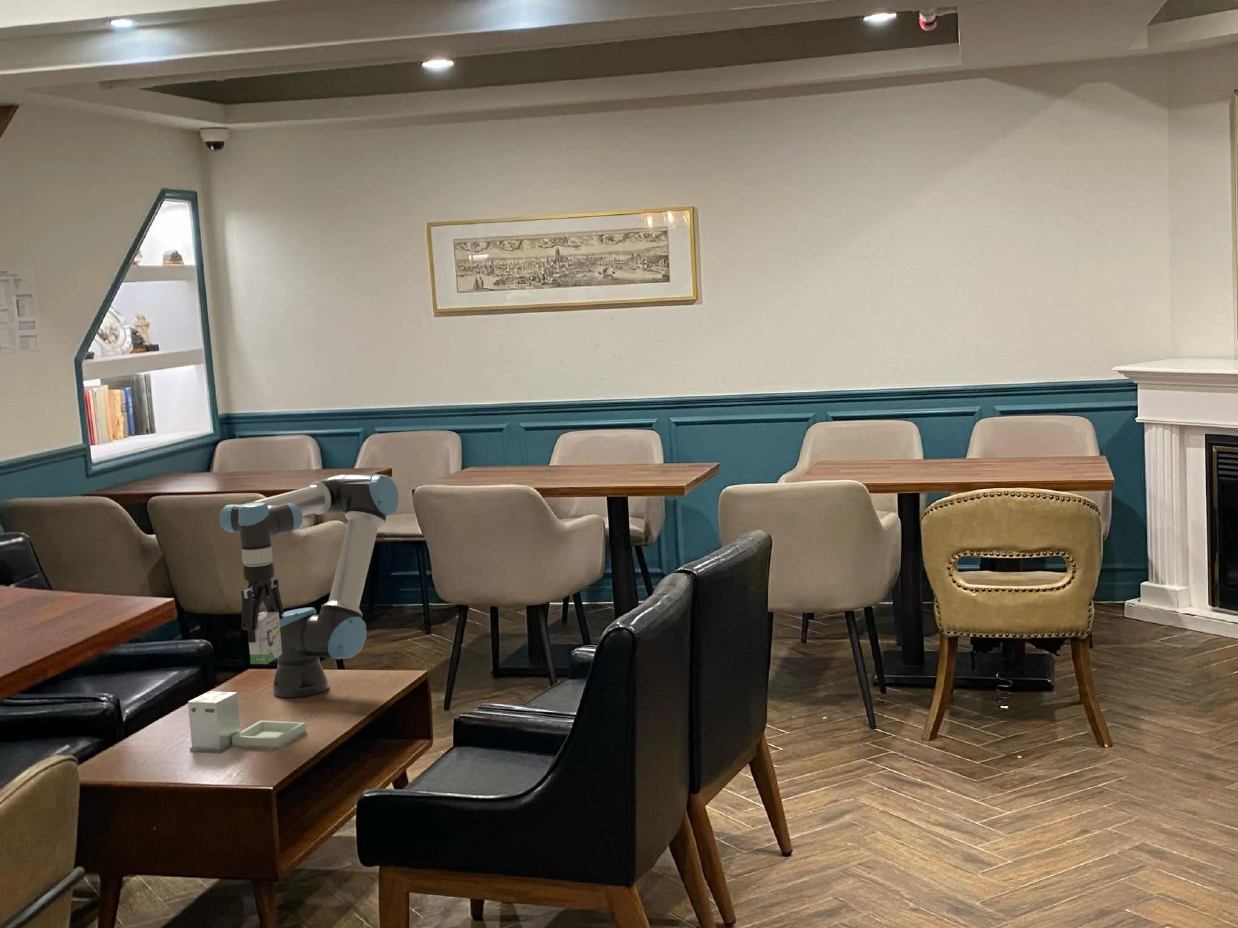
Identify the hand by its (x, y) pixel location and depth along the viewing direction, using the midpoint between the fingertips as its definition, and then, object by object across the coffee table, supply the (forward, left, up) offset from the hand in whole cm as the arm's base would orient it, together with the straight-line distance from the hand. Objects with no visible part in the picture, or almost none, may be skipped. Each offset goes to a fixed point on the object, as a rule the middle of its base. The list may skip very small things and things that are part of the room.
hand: (265, 648), depth 340 cm
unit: (+18, -5, -20) cm, 27 cm away
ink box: (0, 0, -3) cm, 3 cm away
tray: (+11, +6, -20) cm, 24 cm away
